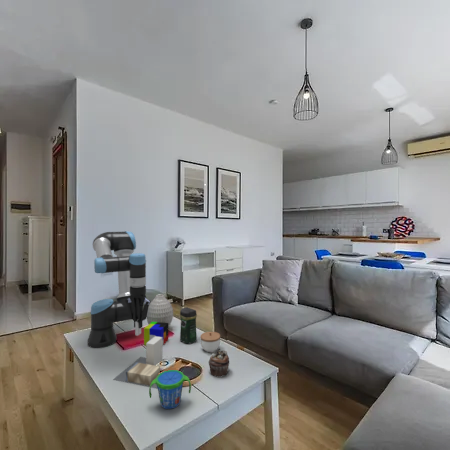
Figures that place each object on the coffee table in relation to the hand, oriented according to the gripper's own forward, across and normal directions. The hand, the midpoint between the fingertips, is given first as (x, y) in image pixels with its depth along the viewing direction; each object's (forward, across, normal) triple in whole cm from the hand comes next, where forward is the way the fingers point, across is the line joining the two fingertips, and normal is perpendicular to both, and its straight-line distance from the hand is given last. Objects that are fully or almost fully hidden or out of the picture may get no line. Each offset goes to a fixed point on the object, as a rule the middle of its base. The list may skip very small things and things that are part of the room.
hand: (138, 334), depth 135 cm
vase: (+14, -10, +38) cm, 42 cm away
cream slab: (+14, +9, 0) cm, 16 cm away
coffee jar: (+14, +13, +30) cm, 36 cm away
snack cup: (+15, +29, -22) cm, 39 cm away
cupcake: (+15, +40, +4) cm, 43 cm away
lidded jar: (+15, +29, +23) cm, 40 cm away
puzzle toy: (+14, -3, +22) cm, 27 cm away
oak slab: (+12, +4, -11) cm, 17 cm away
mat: (+14, +11, -5) cm, 19 cm away
